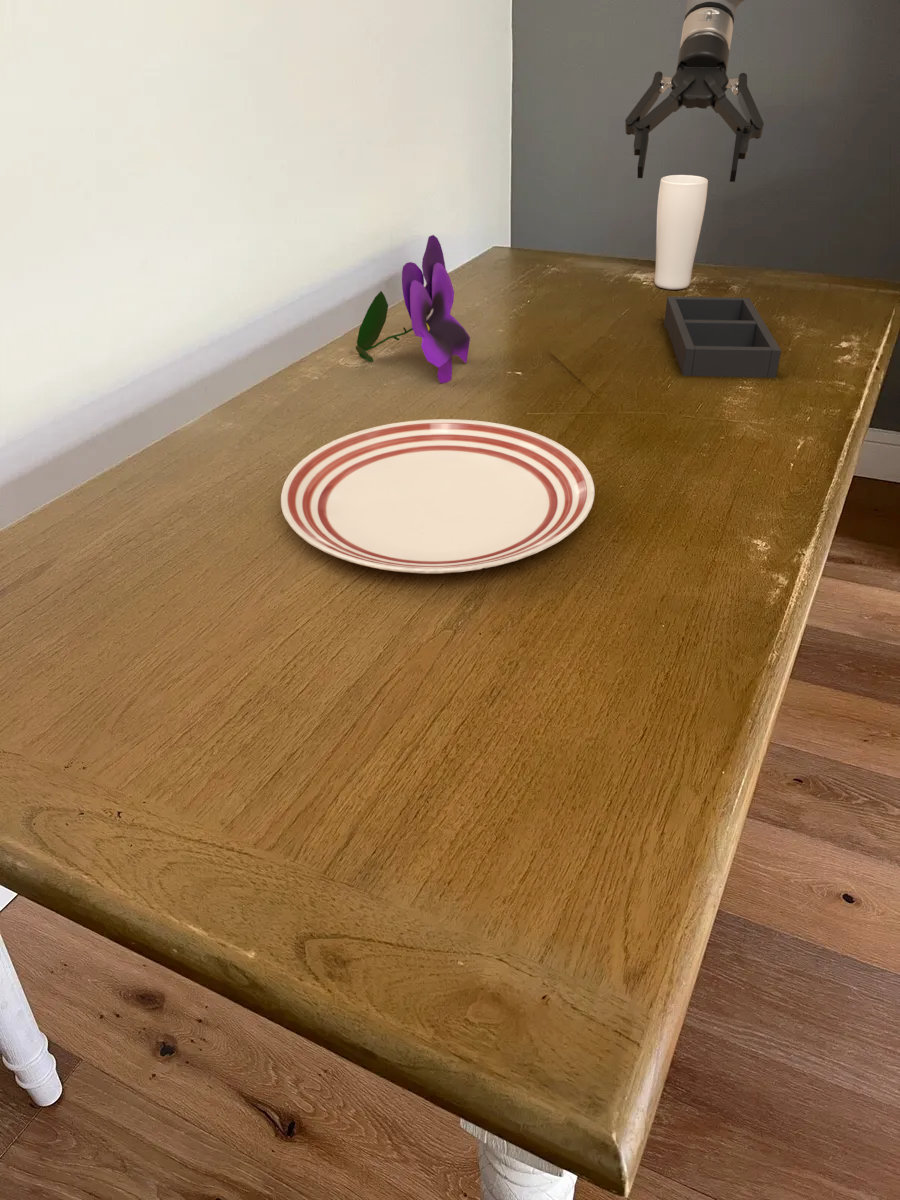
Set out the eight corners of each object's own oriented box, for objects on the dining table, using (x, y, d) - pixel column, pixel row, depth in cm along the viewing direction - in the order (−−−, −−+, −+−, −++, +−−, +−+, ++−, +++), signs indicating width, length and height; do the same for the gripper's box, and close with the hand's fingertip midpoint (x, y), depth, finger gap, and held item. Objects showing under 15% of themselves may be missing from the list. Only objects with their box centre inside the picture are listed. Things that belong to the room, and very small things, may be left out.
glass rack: (743, 332, 126) (749, 297, 124) (773, 389, 110) (781, 350, 107) (663, 331, 127) (667, 296, 124) (681, 387, 110) (686, 348, 108)
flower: (362, 425, 115) (456, 385, 108) (299, 309, 109) (393, 260, 102) (406, 382, 126) (493, 344, 119) (350, 276, 121) (438, 229, 114)
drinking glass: (644, 289, 143) (655, 181, 134) (654, 277, 148) (665, 173, 140) (690, 294, 141) (704, 185, 132) (698, 282, 146) (712, 176, 137)
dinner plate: (544, 627, 71) (546, 589, 69) (224, 563, 79) (218, 528, 77) (621, 471, 92) (624, 439, 91) (363, 433, 100) (361, 403, 99)
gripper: (622, 30, 145) (601, 155, 142) (793, 31, 140) (776, 161, 136) (622, 67, 153) (603, 186, 149) (785, 69, 147) (769, 193, 143)
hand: (686, 174), depth 143 cm, fingers open, 13 cm apart
